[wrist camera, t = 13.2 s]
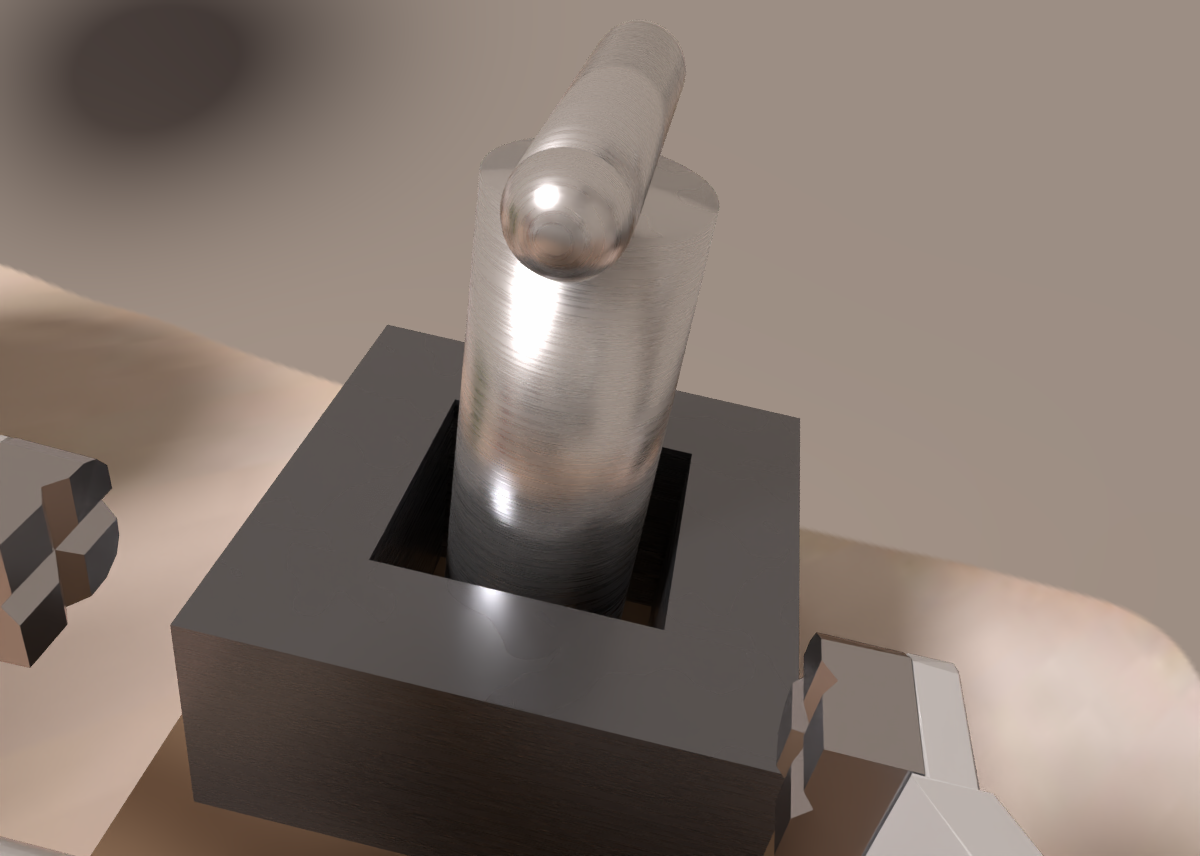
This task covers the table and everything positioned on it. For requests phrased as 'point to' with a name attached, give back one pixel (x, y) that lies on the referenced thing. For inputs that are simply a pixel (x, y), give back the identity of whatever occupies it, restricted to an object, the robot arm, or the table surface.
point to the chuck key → (577, 332)
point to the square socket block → (495, 645)
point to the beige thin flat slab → (218, 836)
